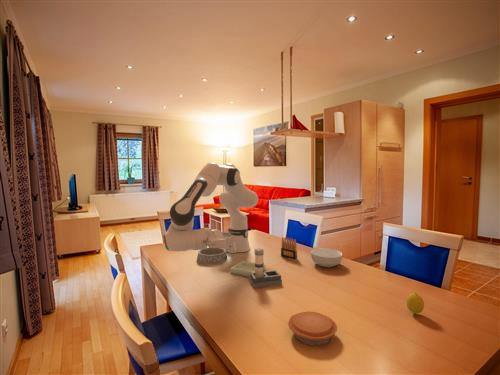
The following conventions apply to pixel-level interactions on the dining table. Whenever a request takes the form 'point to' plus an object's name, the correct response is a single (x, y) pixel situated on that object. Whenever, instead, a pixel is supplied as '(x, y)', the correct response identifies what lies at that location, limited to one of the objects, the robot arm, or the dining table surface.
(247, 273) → the tray
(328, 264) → the cereal bowl
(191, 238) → the robot arm
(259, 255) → the fuse
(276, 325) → the dining table surface
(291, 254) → the ammunition clip
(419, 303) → the lemon
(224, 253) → the dog bowl
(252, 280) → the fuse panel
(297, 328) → the pie
